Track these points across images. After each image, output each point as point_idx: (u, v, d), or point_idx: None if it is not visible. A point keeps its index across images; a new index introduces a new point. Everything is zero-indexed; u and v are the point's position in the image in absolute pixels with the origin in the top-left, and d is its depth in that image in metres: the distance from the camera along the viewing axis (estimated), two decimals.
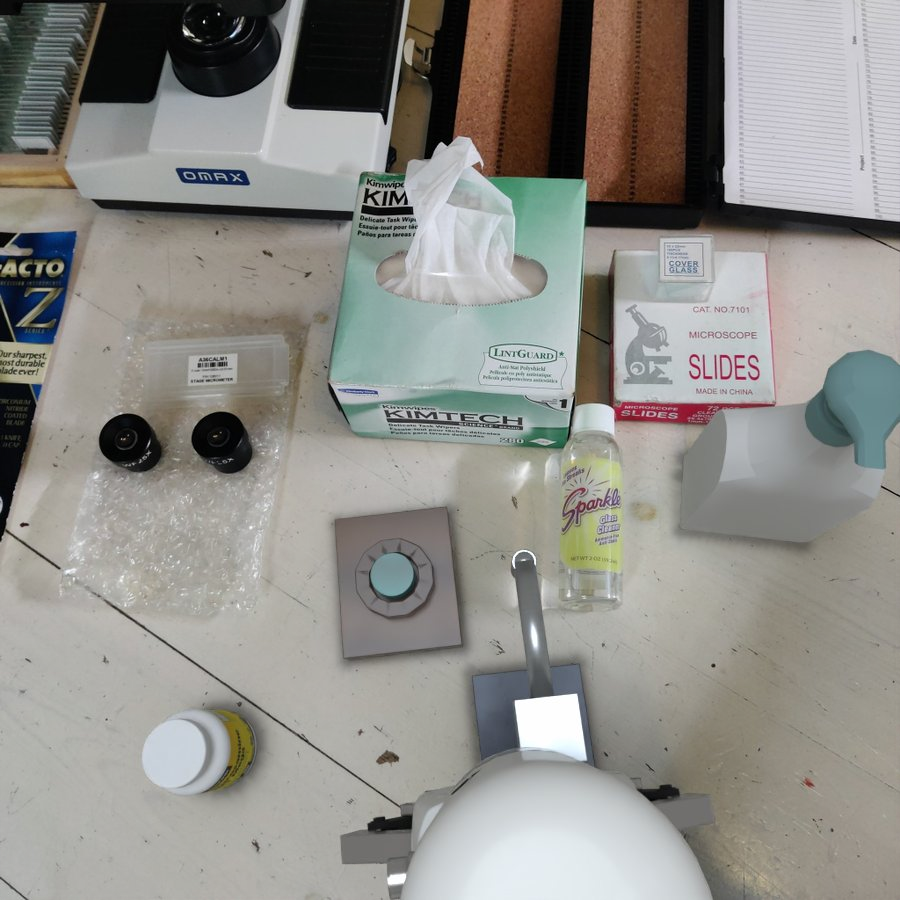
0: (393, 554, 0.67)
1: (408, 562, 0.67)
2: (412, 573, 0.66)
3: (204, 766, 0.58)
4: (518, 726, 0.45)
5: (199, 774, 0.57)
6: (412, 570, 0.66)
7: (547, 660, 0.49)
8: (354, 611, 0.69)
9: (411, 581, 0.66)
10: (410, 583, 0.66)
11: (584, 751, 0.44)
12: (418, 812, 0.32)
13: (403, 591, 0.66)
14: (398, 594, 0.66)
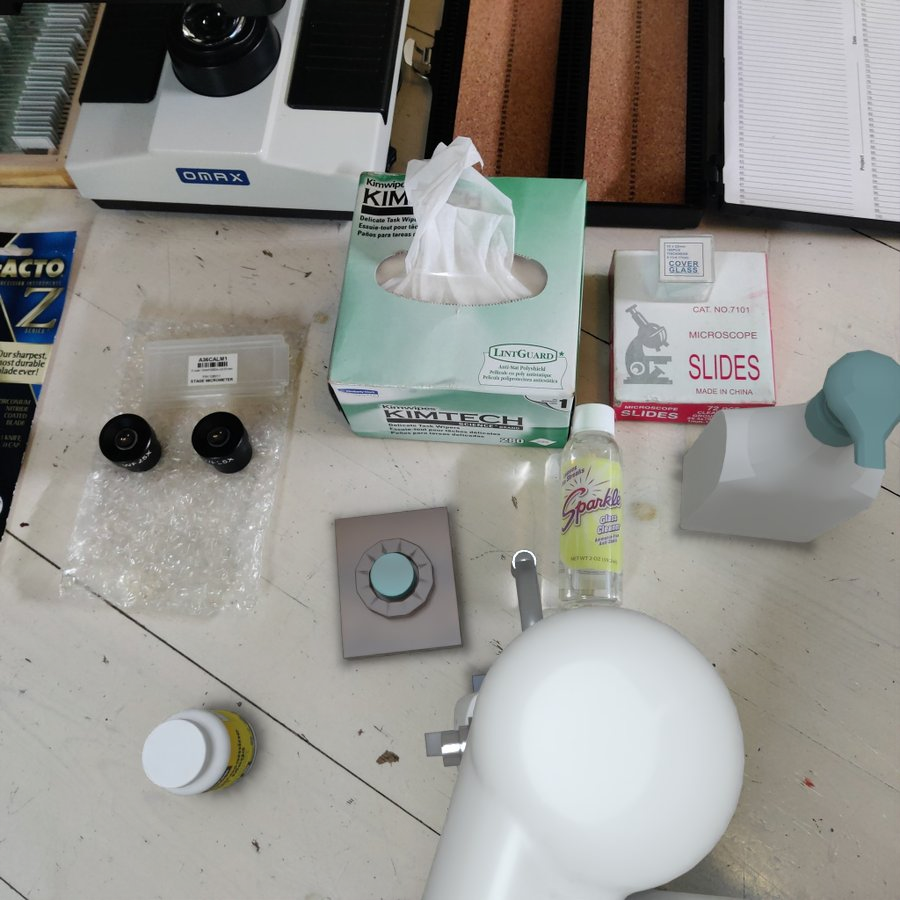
0: (393, 554, 0.67)
1: (408, 562, 0.67)
2: (412, 573, 0.66)
3: (204, 766, 0.58)
4: None
5: (199, 774, 0.57)
6: (412, 570, 0.66)
7: None
8: (354, 611, 0.69)
9: (411, 581, 0.66)
10: (410, 583, 0.66)
11: None
12: (462, 703, 0.36)
13: (403, 591, 0.66)
14: (398, 594, 0.66)
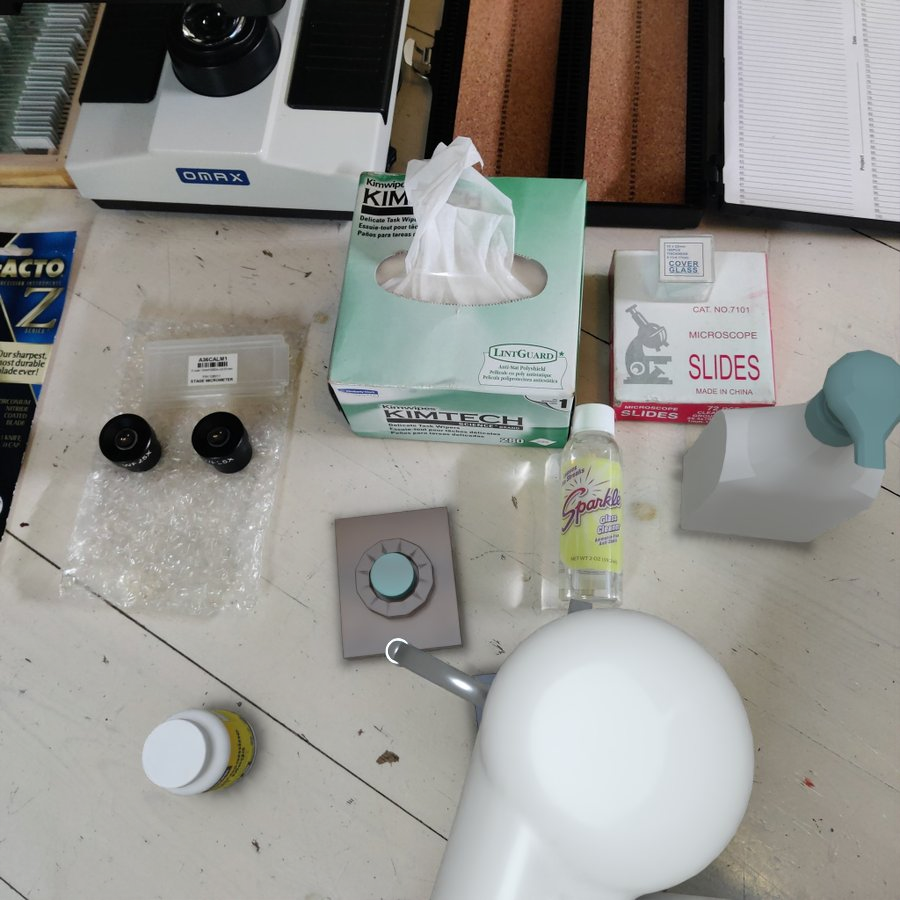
0: (393, 554, 0.67)
1: (408, 562, 0.67)
2: (412, 573, 0.66)
3: (204, 766, 0.58)
4: None
5: (199, 774, 0.57)
6: (412, 570, 0.66)
7: None
8: (354, 611, 0.69)
9: (411, 581, 0.66)
10: (410, 583, 0.66)
11: None
12: None
13: (403, 591, 0.66)
14: (398, 594, 0.66)
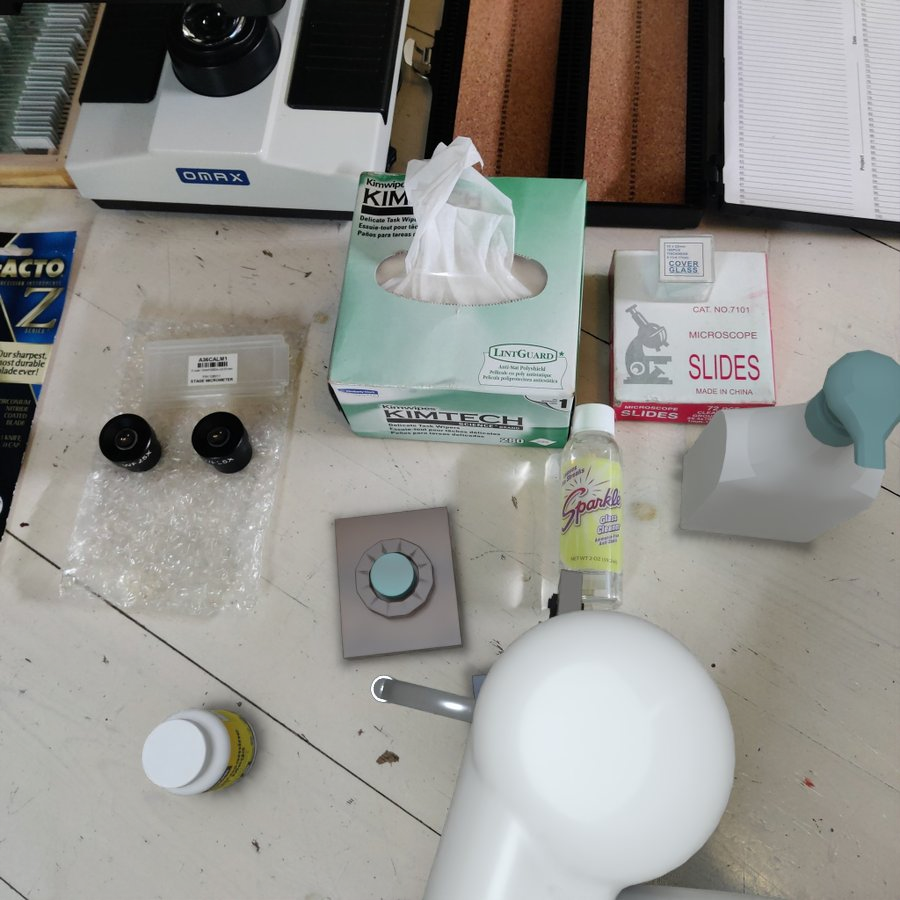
0: (393, 554, 0.67)
1: (408, 562, 0.67)
2: (412, 573, 0.66)
3: (204, 766, 0.58)
4: None
5: (199, 774, 0.57)
6: (412, 570, 0.66)
7: None
8: (354, 611, 0.69)
9: (411, 581, 0.66)
10: (410, 583, 0.66)
11: None
12: None
13: (403, 591, 0.66)
14: (398, 594, 0.66)
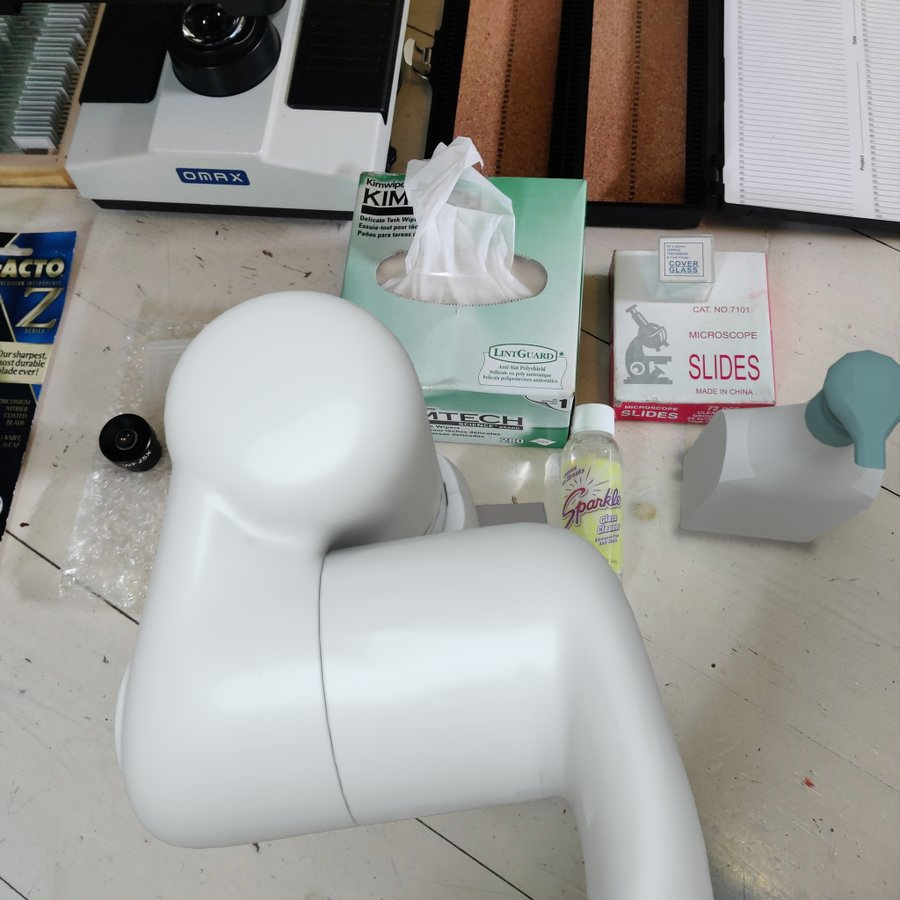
0: None
1: None
2: None
3: None
4: None
5: None
6: None
7: None
8: None
9: None
10: None
11: None
12: None
13: None
14: None
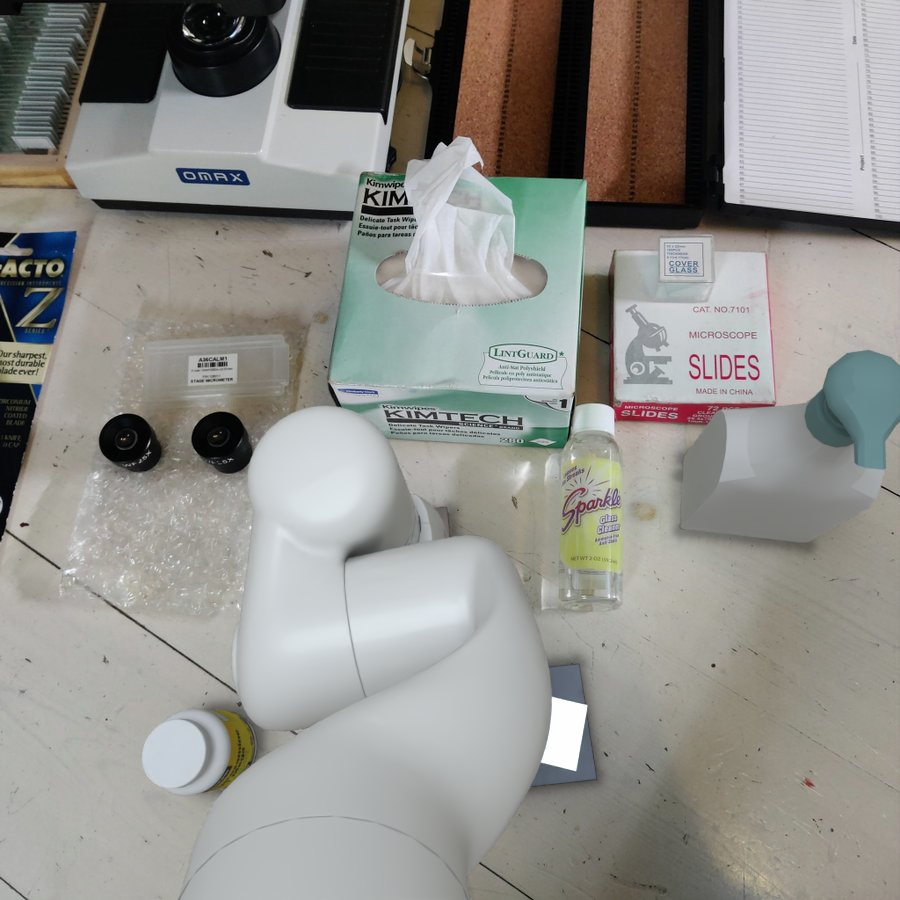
0: None
1: None
2: None
3: (204, 766, 0.58)
4: None
5: (199, 774, 0.57)
6: None
7: None
8: None
9: None
10: None
11: (579, 704, 0.45)
12: None
13: None
14: None
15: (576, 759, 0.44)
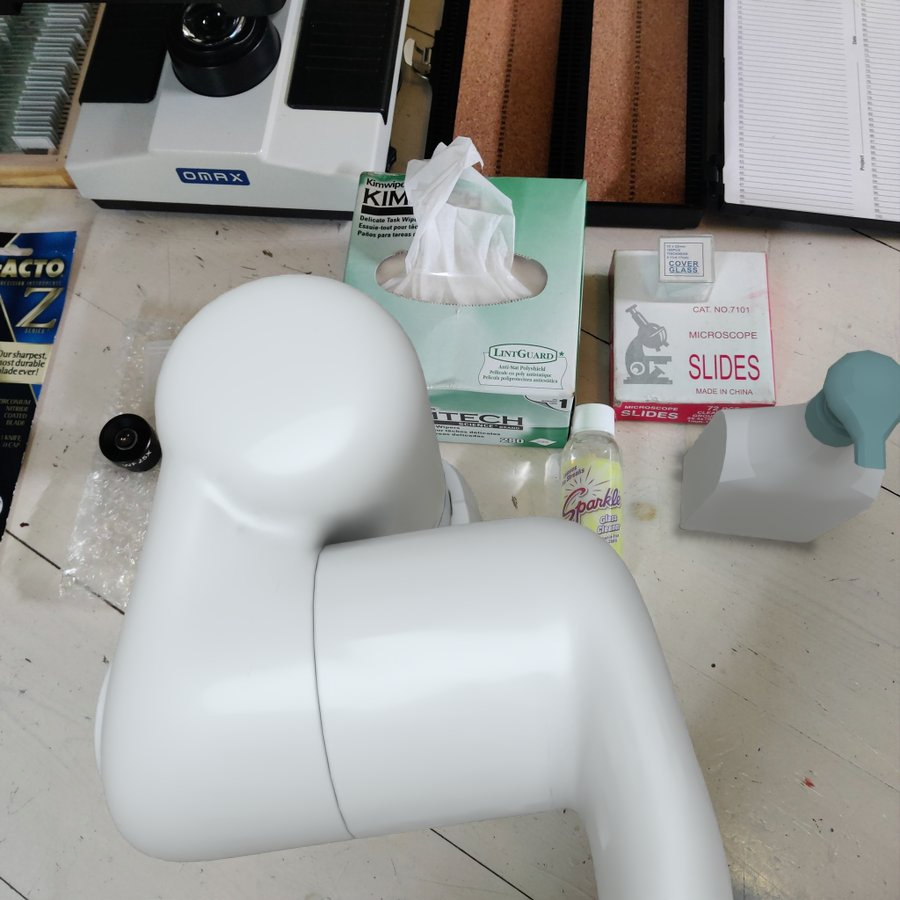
0: None
1: None
2: None
3: None
4: None
5: None
6: None
7: None
8: None
9: None
10: None
11: None
12: None
13: None
14: None
15: None
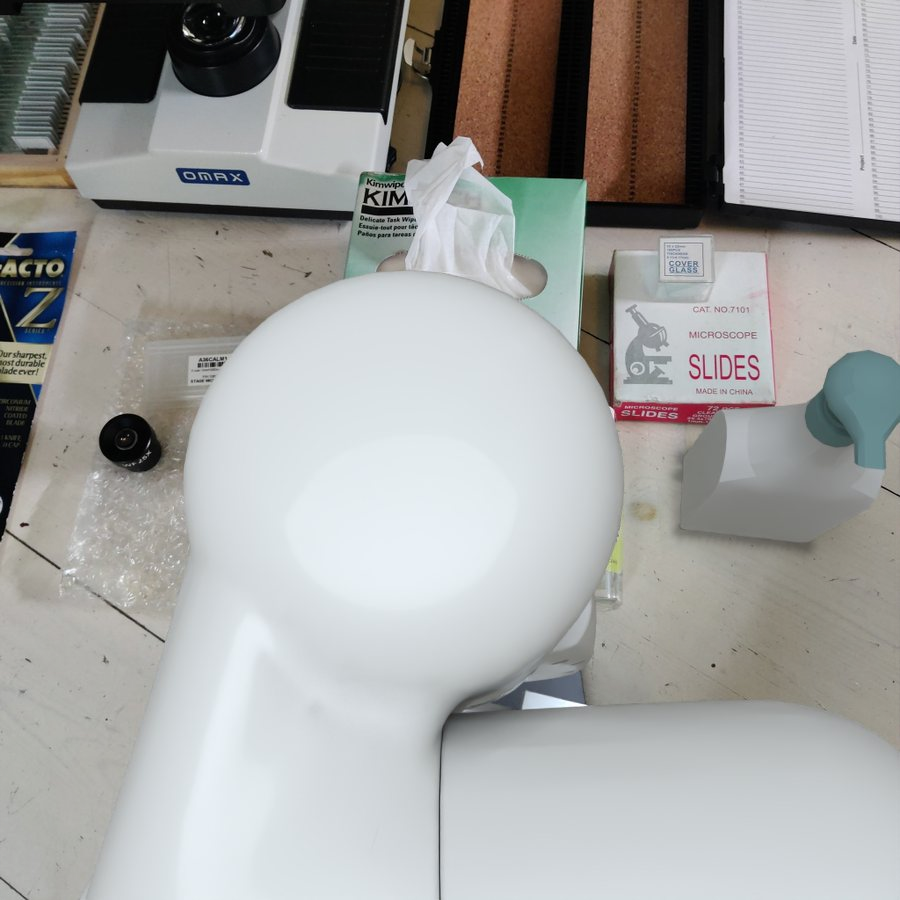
0: None
1: None
2: None
3: None
4: None
5: None
6: None
7: None
8: None
9: None
10: None
11: (579, 704, 0.45)
12: None
13: None
14: None
15: None
